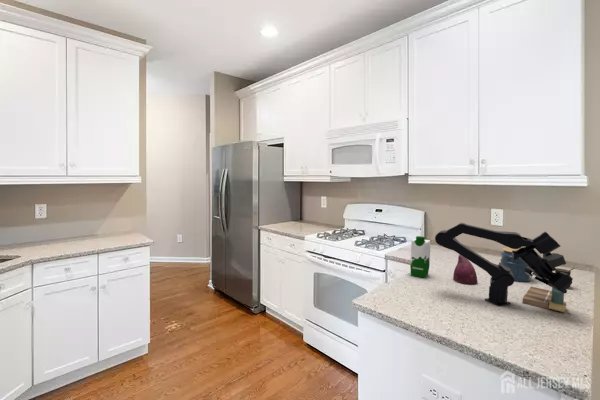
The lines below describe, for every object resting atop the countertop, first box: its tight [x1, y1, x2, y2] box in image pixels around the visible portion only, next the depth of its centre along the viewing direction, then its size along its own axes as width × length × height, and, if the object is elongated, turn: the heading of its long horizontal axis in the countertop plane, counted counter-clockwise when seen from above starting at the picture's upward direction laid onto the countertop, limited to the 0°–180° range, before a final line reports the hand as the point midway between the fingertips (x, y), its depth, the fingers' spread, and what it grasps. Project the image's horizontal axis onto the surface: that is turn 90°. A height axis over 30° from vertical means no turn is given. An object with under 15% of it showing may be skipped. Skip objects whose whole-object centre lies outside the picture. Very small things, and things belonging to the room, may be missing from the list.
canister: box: [499, 246, 532, 283], centre depth 157 cm, size 13×13×18 cm
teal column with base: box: [548, 287, 568, 313], centre depth 119 cm, size 7×5×11 cm, turn 136°
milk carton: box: [409, 235, 431, 279], centre depth 158 cm, size 9×9×20 cm
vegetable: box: [452, 253, 478, 286], centre depth 151 cm, size 10×10×15 cm
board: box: [522, 286, 552, 310], centre depth 129 cm, size 20×8×2 cm, turn 136°
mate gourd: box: [554, 267, 575, 289], centre depth 146 cm, size 7×8×10 cm
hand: (562, 290), depth 119 cm, fingers closed on teal column with base, 4 cm apart
